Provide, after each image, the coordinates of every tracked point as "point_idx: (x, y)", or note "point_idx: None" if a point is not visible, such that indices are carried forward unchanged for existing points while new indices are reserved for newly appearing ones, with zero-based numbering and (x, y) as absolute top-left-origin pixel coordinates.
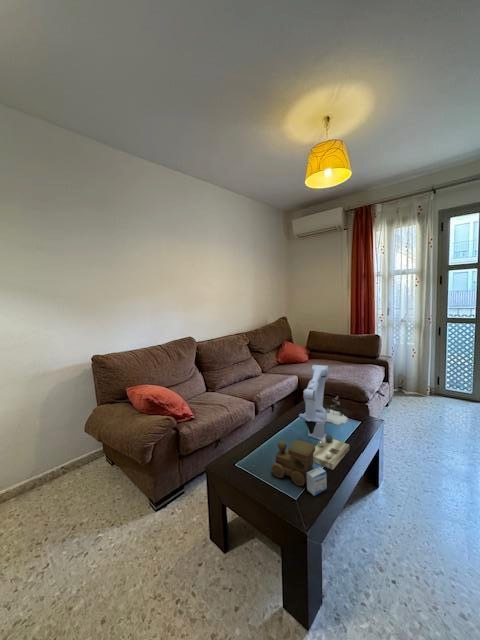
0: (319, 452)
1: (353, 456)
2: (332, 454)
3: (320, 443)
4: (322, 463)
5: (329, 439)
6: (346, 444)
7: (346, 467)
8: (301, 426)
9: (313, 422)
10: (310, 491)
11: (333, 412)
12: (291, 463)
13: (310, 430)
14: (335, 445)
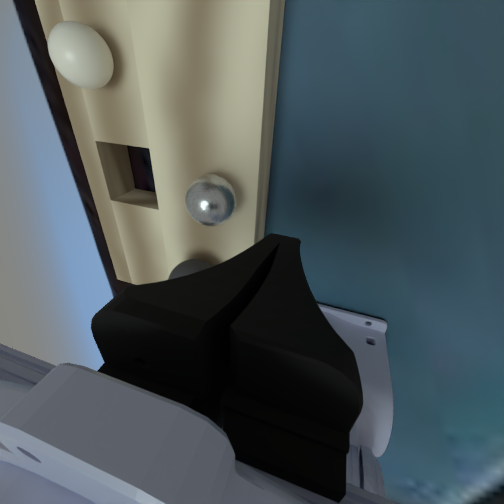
0: (188, 88)
1: (97, 217)
2: (110, 125)
3: (198, 183)
4: None
5: (176, 267)
6: (126, 275)
7: (54, 91)
8: (458, 403)
9: (127, 370)
10: None
11: None
12: None
13: (269, 251)
14: (157, 244)
